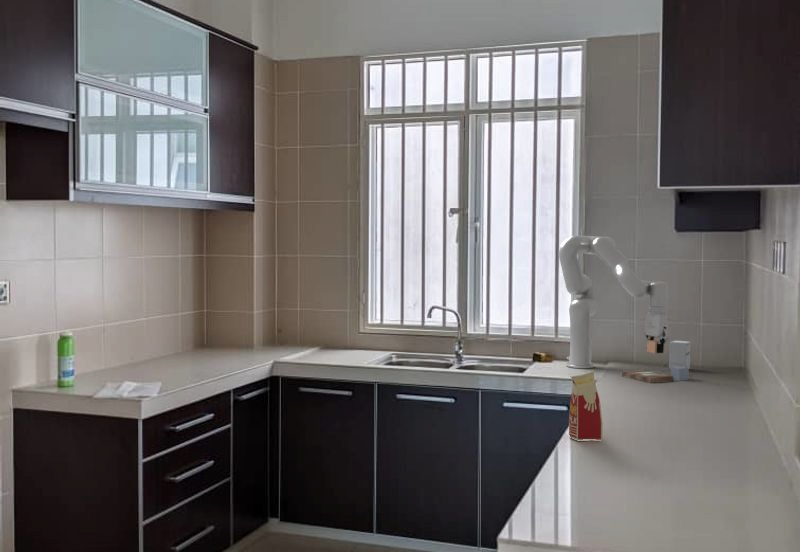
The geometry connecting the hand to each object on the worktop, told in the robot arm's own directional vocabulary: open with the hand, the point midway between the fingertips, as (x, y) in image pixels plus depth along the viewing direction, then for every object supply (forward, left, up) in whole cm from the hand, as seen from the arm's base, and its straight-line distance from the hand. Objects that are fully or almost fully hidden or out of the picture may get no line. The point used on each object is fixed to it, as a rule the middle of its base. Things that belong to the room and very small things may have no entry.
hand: (655, 351), depth 355 cm
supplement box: (-5, +18, -10) cm, 22 cm away
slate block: (+15, 0, -10) cm, 18 cm away
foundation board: (+9, -12, -10) cm, 17 cm away
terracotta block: (0, 0, -1) cm, 1 cm away
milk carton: (+84, -98, -10) cm, 129 cm away
